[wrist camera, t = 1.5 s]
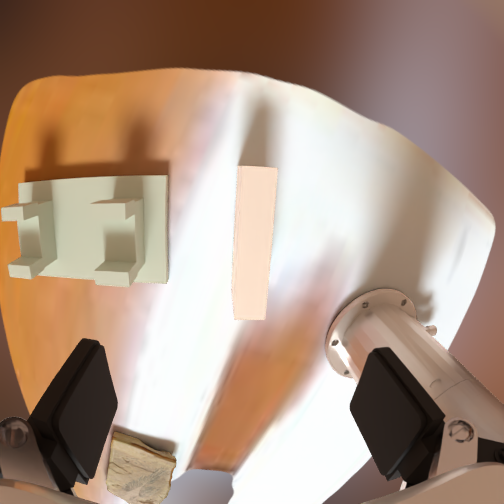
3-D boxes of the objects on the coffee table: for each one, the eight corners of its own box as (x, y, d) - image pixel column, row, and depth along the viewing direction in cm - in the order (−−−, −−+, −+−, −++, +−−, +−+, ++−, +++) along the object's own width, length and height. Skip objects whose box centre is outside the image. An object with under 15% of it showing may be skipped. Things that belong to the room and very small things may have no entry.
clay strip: (237, 166, 25) (242, 165, 19) (265, 167, 25) (277, 167, 20) (231, 289, 29) (234, 319, 23) (256, 290, 29) (264, 319, 23)
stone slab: (106, 498, 38) (103, 445, 30) (109, 485, 41) (109, 426, 33) (158, 513, 40) (184, 469, 32) (160, 500, 44) (185, 449, 36)
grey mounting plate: (168, 175, 25) (152, 177, 18) (168, 279, 27) (155, 309, 21) (24, 182, 23) (-13, 189, 16) (32, 270, 25) (1, 292, 19)
